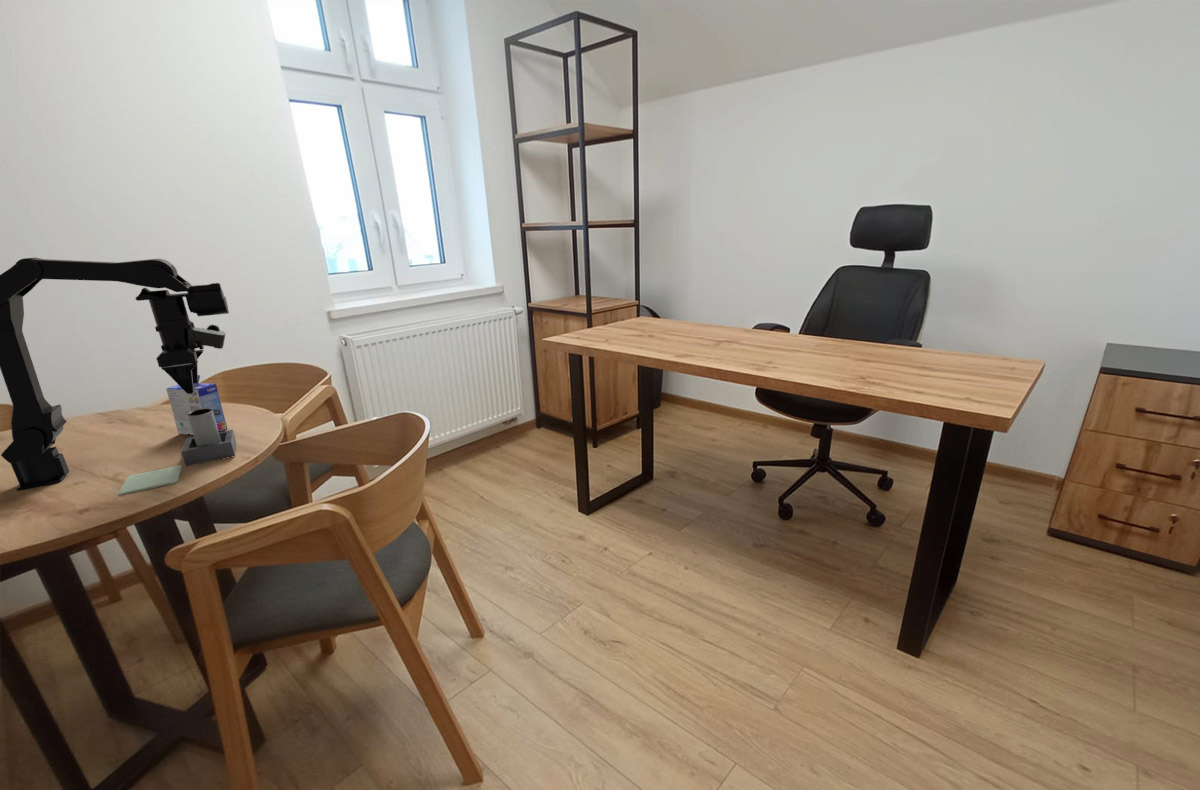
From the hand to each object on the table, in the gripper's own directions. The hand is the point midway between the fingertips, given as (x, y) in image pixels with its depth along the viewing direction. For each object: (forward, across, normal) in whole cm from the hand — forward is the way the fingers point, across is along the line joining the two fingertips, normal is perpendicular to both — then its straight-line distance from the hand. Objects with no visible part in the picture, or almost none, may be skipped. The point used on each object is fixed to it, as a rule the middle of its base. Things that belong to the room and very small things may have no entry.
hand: (192, 388), depth 117 cm
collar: (+15, -5, -1) cm, 15 cm away
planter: (+15, -5, -1) cm, 16 cm away
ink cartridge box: (+15, +14, +2) cm, 21 cm away
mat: (+15, -14, +9) cm, 22 cm away
